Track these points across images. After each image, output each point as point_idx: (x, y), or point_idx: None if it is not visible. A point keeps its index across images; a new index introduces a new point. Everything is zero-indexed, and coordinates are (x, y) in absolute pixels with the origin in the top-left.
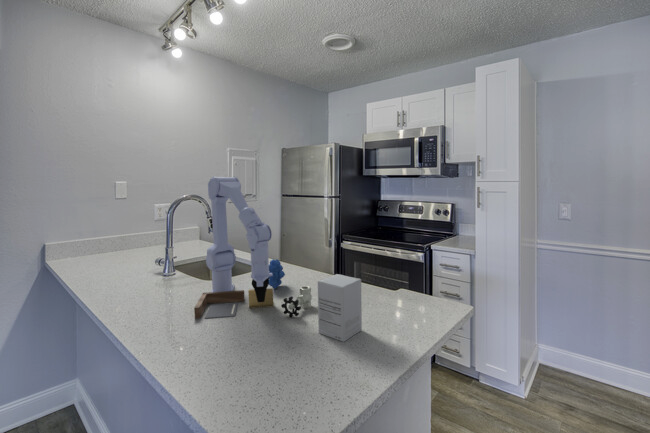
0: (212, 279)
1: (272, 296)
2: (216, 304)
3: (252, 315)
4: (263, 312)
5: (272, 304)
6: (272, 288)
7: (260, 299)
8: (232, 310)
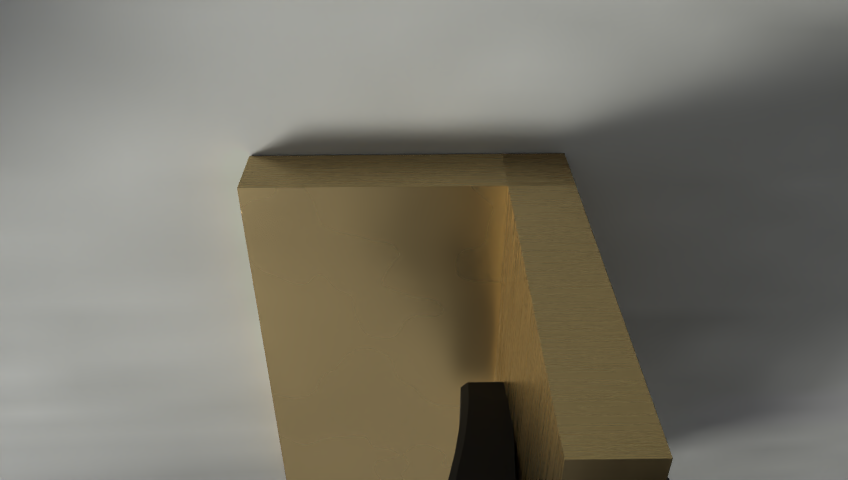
0: None
1: (609, 301)
2: None
3: (826, 429)
4: (788, 305)
5: (567, 189)
6: (586, 466)
7: None
8: None
